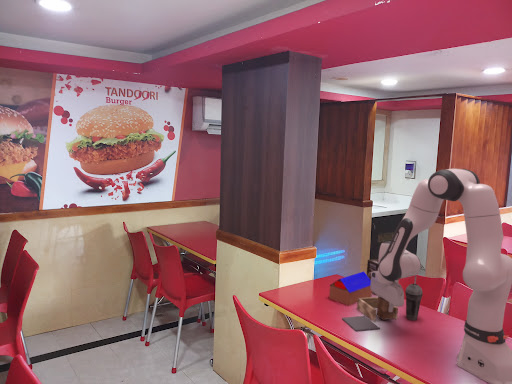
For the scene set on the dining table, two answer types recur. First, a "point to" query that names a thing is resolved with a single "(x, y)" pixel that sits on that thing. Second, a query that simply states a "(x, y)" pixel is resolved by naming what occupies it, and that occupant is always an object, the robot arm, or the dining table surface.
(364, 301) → the wooden open frame
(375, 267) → the coffee box
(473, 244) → the robot arm
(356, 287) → the house
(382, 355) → the dining table surface
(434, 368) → the dining table surface
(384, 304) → the block
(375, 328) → the mat
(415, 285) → the beverage cup
